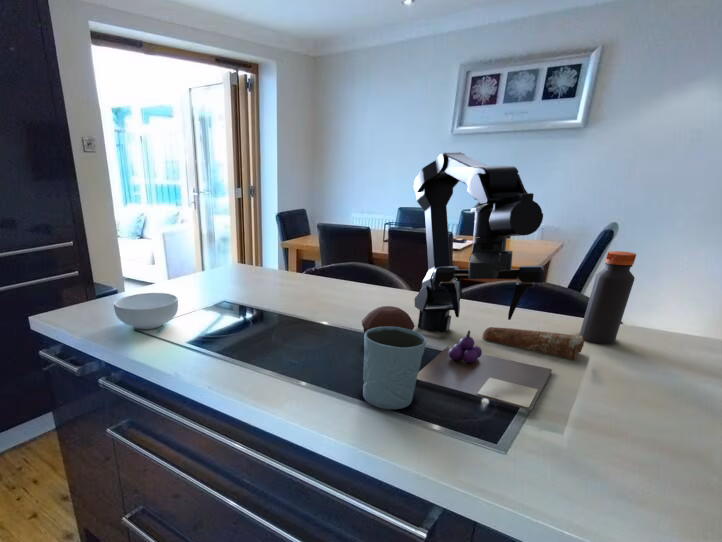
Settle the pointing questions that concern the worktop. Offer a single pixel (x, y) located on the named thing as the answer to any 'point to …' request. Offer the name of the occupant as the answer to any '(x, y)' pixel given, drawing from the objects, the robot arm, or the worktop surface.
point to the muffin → (387, 318)
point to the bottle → (608, 298)
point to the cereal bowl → (146, 309)
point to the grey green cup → (391, 366)
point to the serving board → (488, 378)
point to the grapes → (465, 350)
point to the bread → (537, 341)
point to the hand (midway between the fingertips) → (482, 318)
